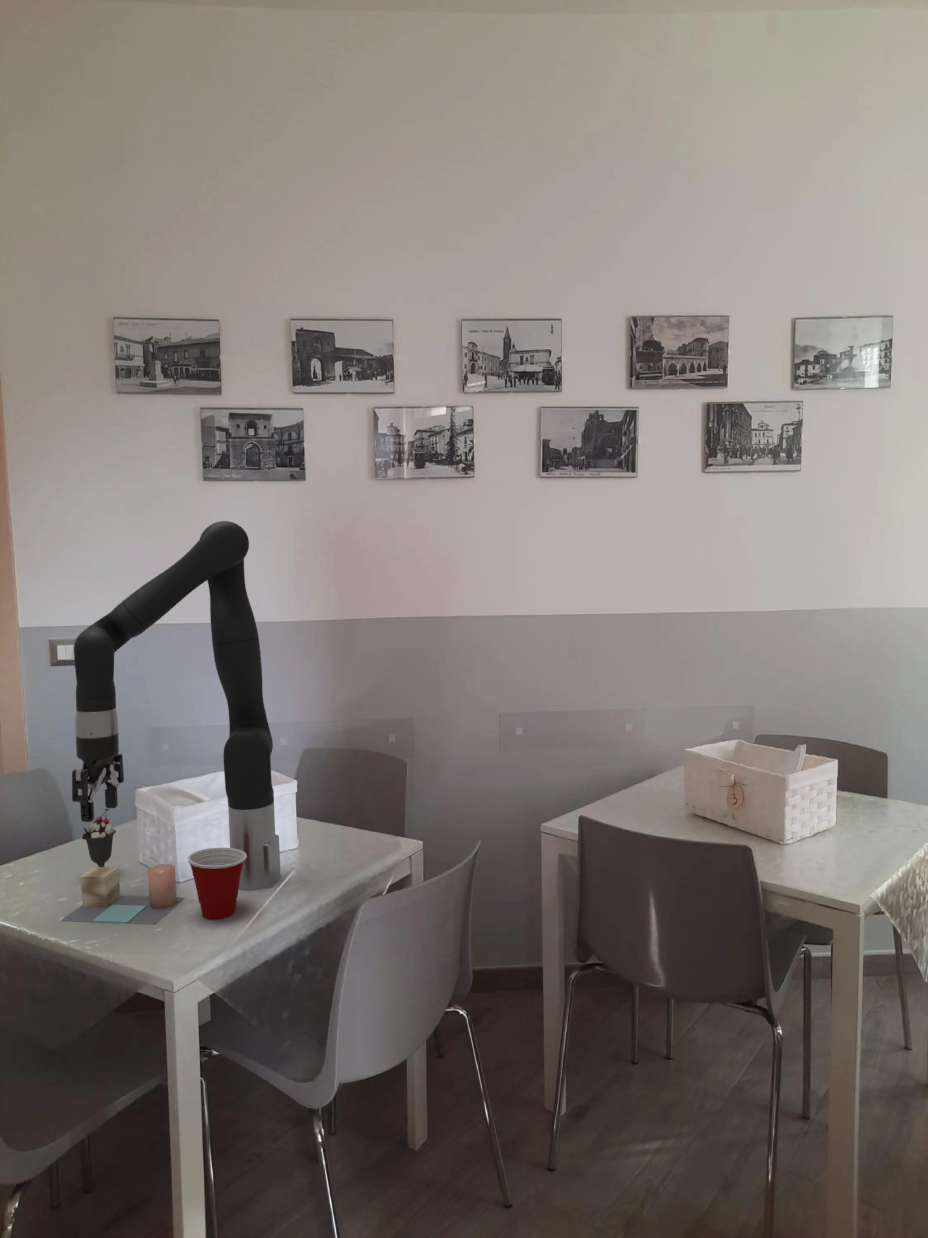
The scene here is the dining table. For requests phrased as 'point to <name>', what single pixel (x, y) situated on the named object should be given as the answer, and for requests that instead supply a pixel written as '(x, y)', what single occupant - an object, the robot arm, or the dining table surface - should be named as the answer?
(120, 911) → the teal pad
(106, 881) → the beech block
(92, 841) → the sundae
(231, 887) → the plastic cup
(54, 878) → the dining table surface
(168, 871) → the terracotta cylinder
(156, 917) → the slate mat
